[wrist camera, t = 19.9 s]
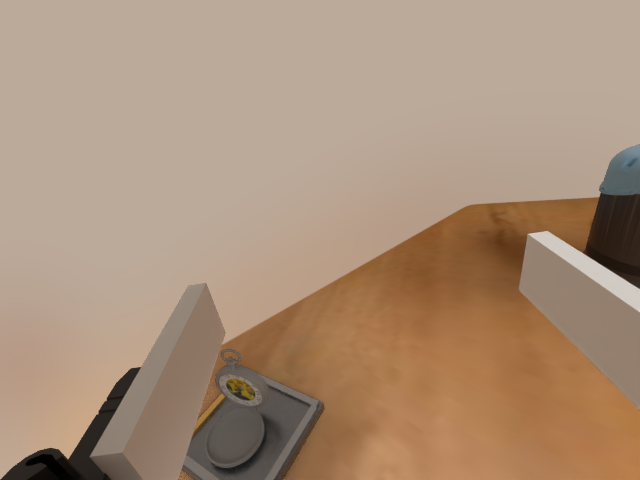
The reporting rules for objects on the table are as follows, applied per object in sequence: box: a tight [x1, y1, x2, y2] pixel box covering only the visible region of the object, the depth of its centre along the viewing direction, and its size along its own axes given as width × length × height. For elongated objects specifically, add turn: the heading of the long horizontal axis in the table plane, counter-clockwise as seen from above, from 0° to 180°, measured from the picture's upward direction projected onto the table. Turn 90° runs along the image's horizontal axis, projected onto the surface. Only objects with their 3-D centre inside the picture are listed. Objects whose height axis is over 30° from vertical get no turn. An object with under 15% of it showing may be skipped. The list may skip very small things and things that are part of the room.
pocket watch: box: [205, 349, 269, 468], centre depth 35 cm, size 8×8×10 cm
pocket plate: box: [182, 373, 324, 480], centre depth 37 cm, size 13×13×1 cm
